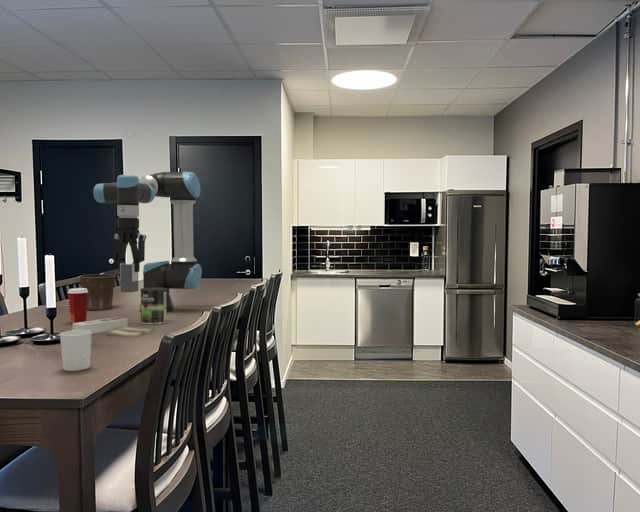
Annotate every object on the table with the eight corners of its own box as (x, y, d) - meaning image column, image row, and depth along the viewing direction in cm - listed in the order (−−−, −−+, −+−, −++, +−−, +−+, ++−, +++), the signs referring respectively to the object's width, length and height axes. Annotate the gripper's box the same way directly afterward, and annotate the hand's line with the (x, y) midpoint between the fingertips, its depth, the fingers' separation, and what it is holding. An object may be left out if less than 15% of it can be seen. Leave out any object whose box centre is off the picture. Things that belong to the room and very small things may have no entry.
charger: (128, 290, 193) (128, 264, 192) (138, 291, 192) (138, 264, 191) (120, 292, 188) (120, 264, 188) (130, 292, 187) (130, 265, 187)
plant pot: (122, 308, 247) (122, 275, 246) (88, 312, 235) (87, 277, 234) (107, 305, 258) (107, 273, 257) (74, 308, 246) (73, 275, 245)
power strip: (118, 326, 204) (117, 315, 204) (127, 329, 199) (127, 317, 199) (72, 334, 190) (72, 321, 190) (81, 336, 185) (81, 323, 185)
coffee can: (155, 325, 205) (155, 290, 204) (135, 323, 209) (134, 289, 208) (172, 321, 214) (171, 287, 214) (152, 319, 218) (152, 286, 218)
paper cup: (92, 321, 213) (91, 288, 212) (82, 324, 206) (81, 290, 205) (74, 321, 214) (74, 287, 213) (63, 324, 206) (63, 289, 206)
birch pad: (125, 328, 198) (125, 326, 198) (153, 330, 195) (153, 328, 195) (105, 335, 186) (105, 332, 186) (135, 336, 183) (135, 334, 183)
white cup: (67, 364, 146) (67, 329, 146) (96, 364, 147) (95, 329, 146) (55, 372, 138) (55, 335, 138) (86, 371, 139) (85, 335, 139)
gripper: (101, 217, 187) (102, 281, 188) (143, 217, 183) (144, 282, 184) (114, 217, 194) (115, 279, 195) (154, 217, 190) (155, 280, 191)
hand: (129, 280), depth 189 cm, fingers closed on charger, 4 cm apart
